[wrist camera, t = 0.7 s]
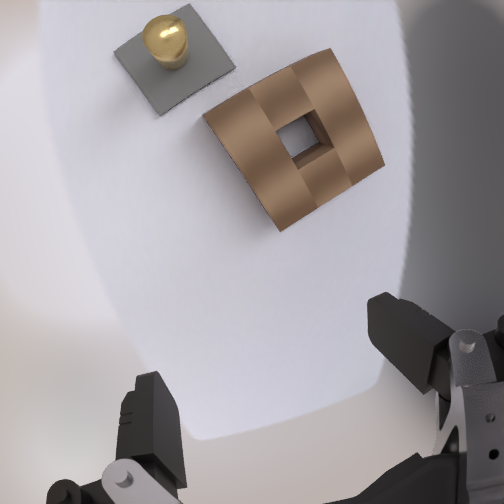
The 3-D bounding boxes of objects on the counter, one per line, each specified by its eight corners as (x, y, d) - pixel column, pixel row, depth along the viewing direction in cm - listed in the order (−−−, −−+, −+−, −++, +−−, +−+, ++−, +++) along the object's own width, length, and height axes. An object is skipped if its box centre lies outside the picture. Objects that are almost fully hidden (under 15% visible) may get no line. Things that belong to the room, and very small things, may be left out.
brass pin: (152, 54, 23) (134, 31, 14) (178, 38, 22) (172, 7, 14) (168, 75, 24) (156, 61, 16) (194, 59, 24) (194, 37, 15)
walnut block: (202, 115, 27) (203, 116, 24) (314, 53, 26) (330, 48, 22) (270, 217, 34) (280, 231, 31) (366, 157, 33) (385, 165, 29)
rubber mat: (114, 52, 22) (113, 52, 22) (189, 4, 21) (189, 3, 21) (160, 115, 27) (159, 115, 26) (235, 67, 26) (235, 67, 25)
